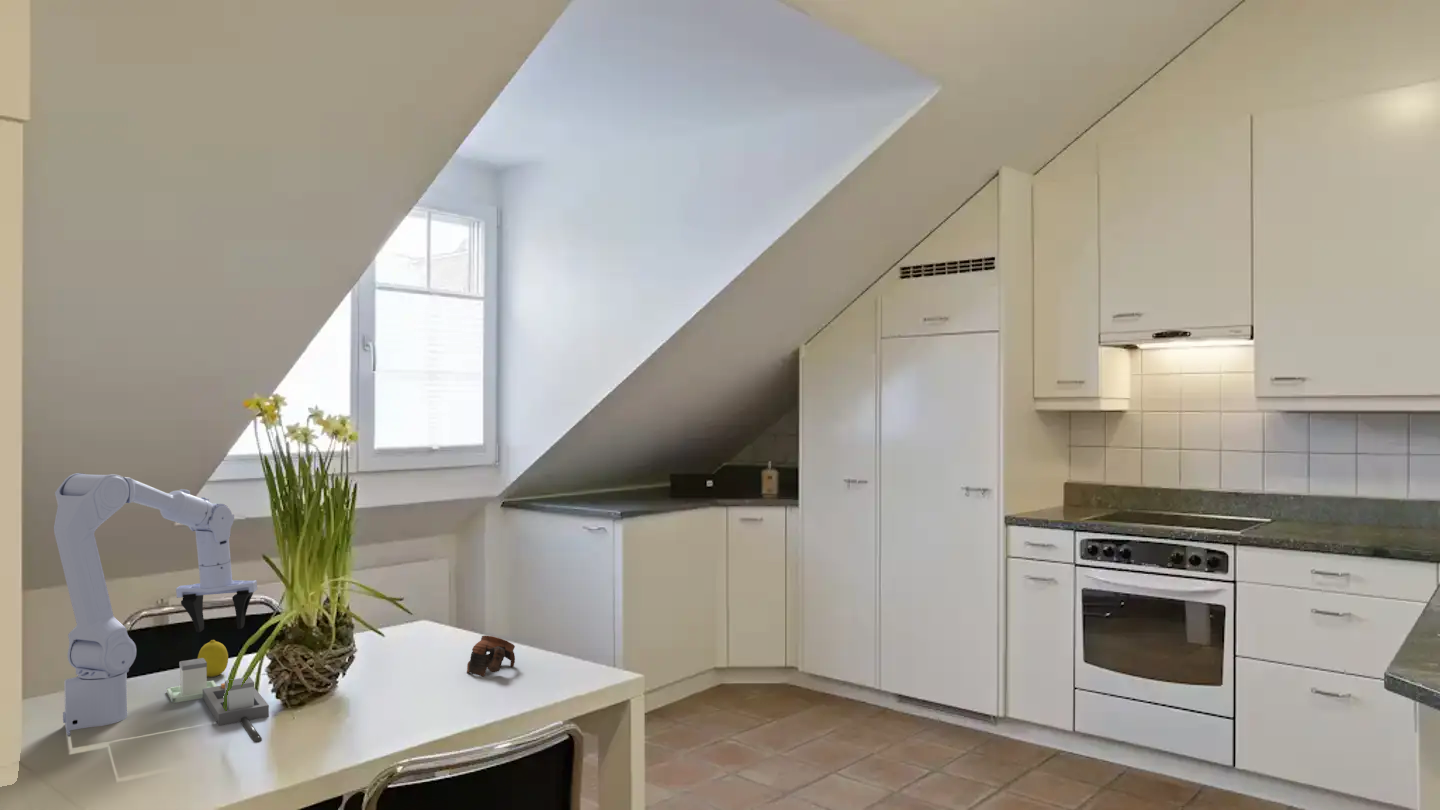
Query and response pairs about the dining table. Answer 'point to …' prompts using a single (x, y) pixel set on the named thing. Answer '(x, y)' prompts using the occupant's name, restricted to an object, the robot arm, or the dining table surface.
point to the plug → (193, 676)
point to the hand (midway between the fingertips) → (220, 629)
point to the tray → (177, 697)
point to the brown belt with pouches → (490, 655)
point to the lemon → (214, 657)
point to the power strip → (236, 710)
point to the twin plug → (240, 694)
